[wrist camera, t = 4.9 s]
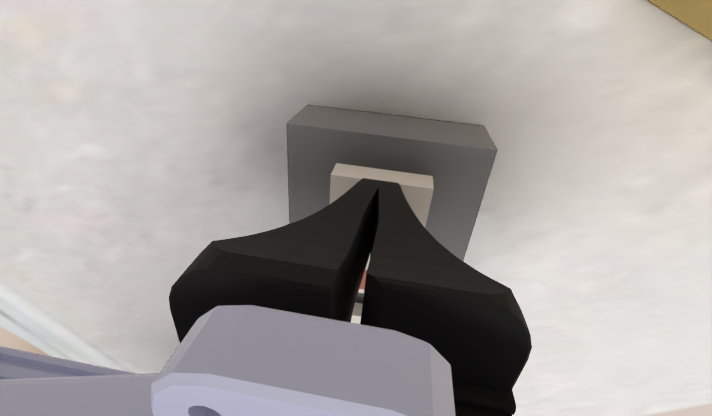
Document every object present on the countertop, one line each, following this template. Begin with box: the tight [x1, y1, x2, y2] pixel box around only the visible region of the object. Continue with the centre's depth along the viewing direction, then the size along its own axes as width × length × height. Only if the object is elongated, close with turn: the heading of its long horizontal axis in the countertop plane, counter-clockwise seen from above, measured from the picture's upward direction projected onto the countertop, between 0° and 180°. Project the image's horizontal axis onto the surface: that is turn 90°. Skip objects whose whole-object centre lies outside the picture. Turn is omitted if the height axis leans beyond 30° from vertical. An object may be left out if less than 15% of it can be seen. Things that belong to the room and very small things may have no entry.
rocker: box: [330, 163, 434, 293], centre depth 14 cm, size 6×4×1 cm, turn 176°
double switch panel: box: [287, 105, 497, 304], centre depth 18 cm, size 15×8×4 cm, turn 176°
